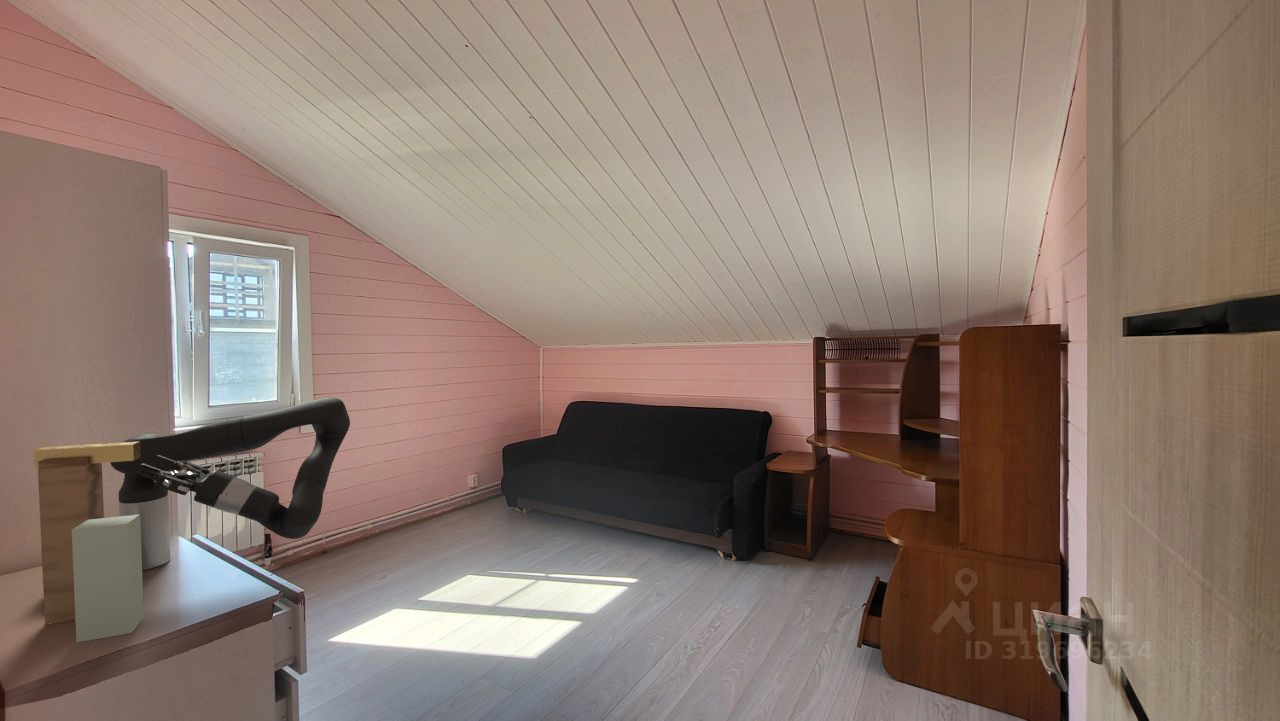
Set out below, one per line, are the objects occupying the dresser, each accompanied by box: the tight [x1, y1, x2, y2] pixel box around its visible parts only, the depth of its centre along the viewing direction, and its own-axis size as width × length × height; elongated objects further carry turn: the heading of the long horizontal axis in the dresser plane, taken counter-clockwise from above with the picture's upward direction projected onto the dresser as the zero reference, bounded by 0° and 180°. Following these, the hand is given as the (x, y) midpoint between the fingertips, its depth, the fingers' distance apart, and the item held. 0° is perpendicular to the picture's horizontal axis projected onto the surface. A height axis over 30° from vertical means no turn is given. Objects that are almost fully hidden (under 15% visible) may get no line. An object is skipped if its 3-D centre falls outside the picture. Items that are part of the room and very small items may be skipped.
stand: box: [37, 457, 105, 625], centre depth 112 cm, size 7×7×34 cm
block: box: [72, 514, 145, 644], centre depth 106 cm, size 6×8×22 cm
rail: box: [33, 441, 141, 468], centre depth 112 cm, size 4×15×4 cm, turn 115°
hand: (146, 463), depth 116 cm, fingers open, 8 cm apart
